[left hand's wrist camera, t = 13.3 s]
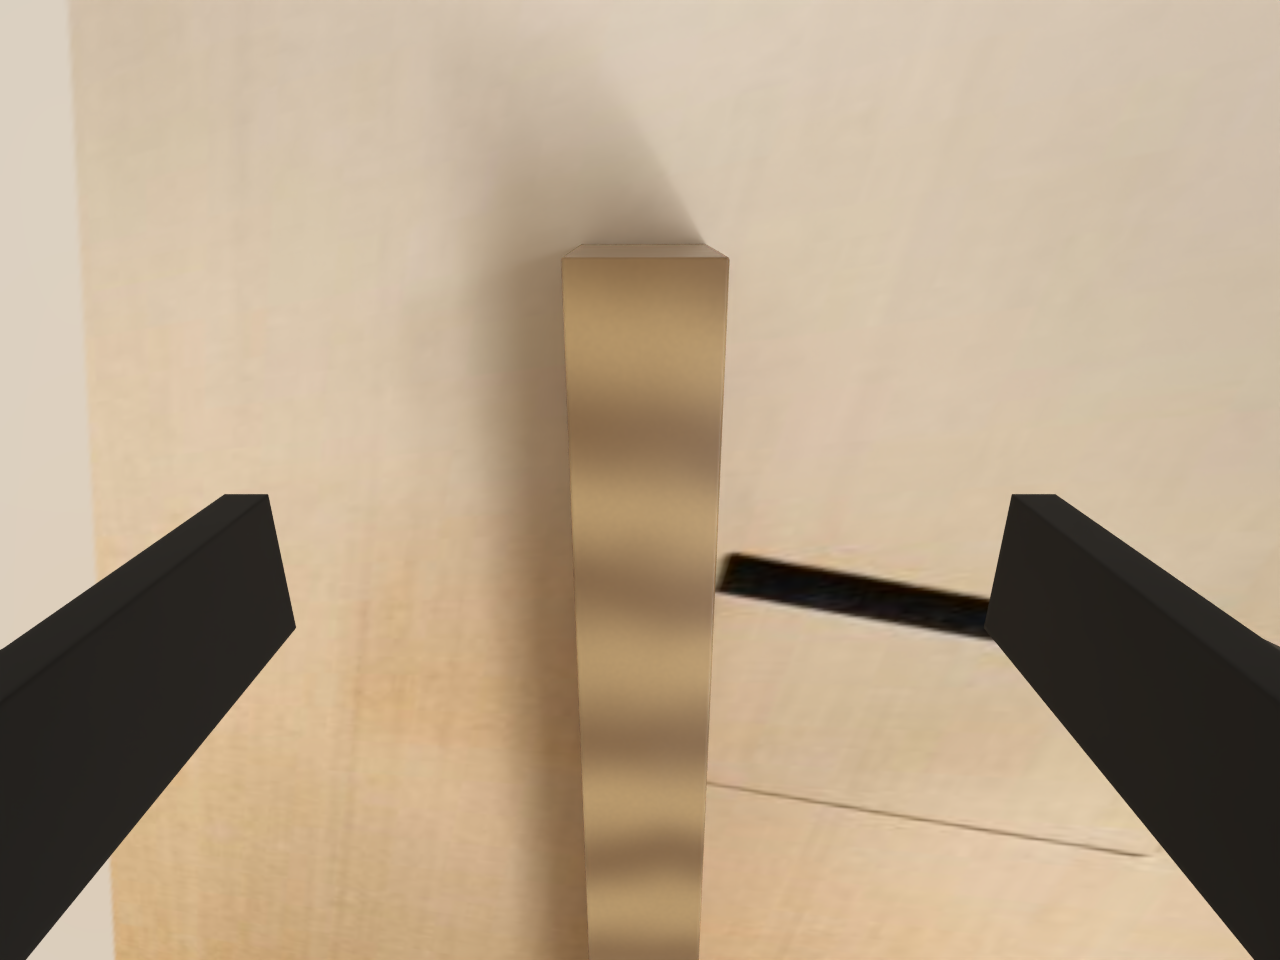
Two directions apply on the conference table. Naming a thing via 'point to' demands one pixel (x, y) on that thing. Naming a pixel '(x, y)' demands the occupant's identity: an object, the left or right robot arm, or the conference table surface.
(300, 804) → the conference table surface
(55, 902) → the left robot arm
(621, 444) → the beam
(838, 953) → the conference table surface
